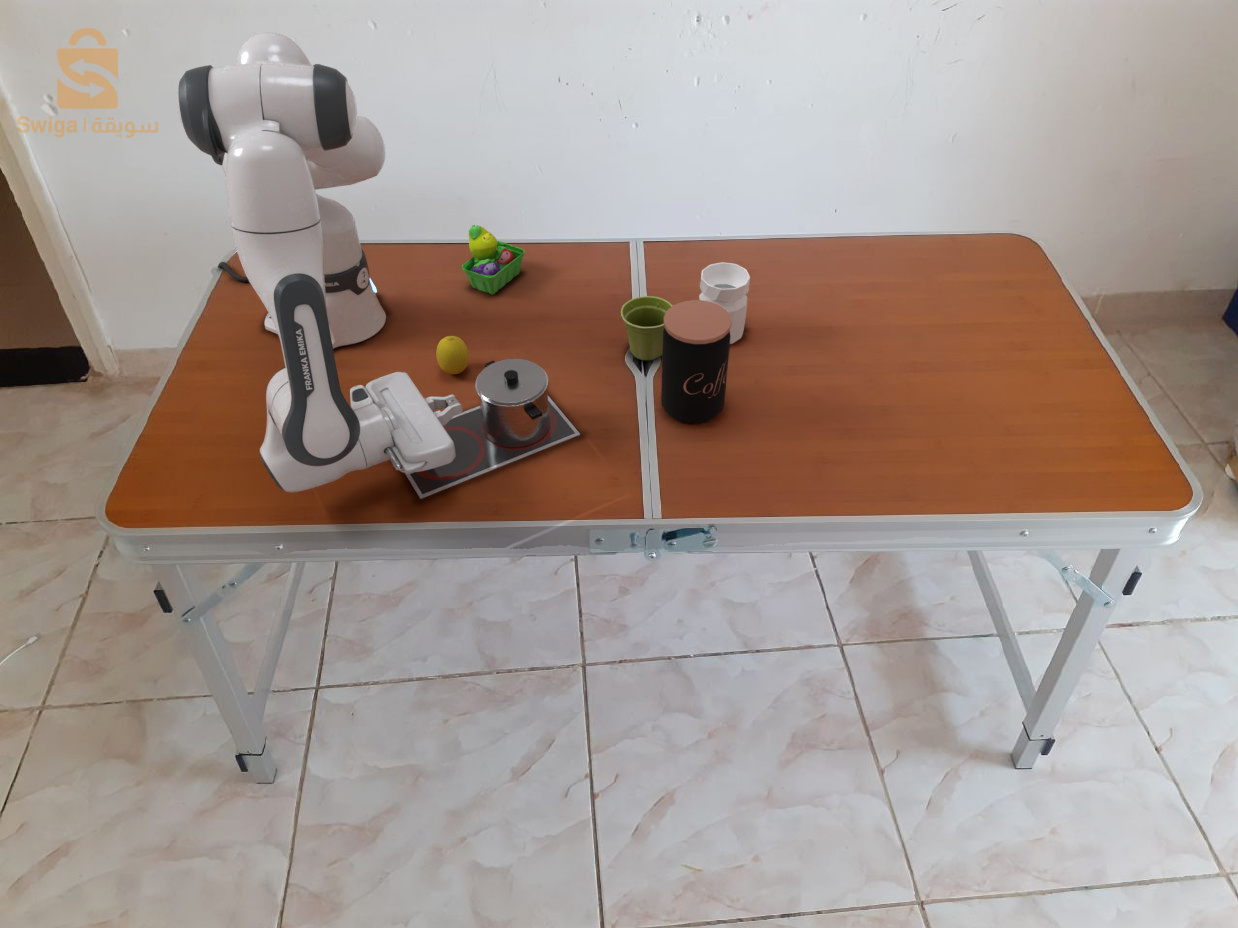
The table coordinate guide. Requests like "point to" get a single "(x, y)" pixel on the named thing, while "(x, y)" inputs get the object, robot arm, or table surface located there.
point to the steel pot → (513, 402)
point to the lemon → (452, 355)
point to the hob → (483, 450)
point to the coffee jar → (695, 361)
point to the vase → (727, 292)
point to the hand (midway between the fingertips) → (458, 403)
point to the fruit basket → (491, 261)
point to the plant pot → (645, 325)
